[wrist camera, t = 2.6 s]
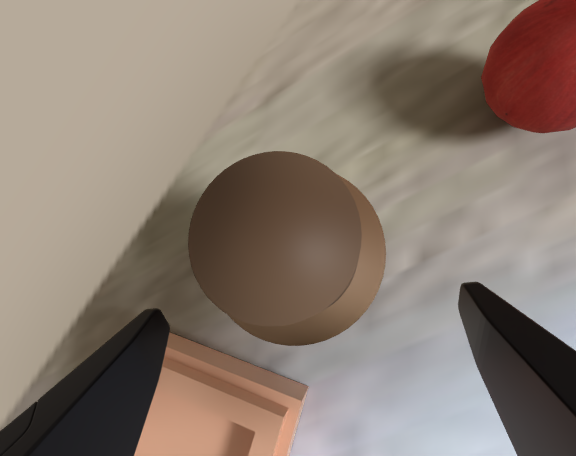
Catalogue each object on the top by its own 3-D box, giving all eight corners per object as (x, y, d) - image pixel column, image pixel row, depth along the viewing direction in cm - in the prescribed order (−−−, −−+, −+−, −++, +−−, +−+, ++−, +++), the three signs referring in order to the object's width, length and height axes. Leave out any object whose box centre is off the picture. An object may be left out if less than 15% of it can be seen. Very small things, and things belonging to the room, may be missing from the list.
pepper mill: (353, 331, 18) (360, 407, 6) (268, 302, 19) (124, 316, 7) (376, 243, 18) (427, 146, 6) (293, 221, 20) (203, 103, 8)
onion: (534, 46, 19) (660, -124, 11) (602, 124, 17) (800, -10, 10) (442, 96, 19) (502, -34, 12) (500, 176, 18) (613, 87, 10)
